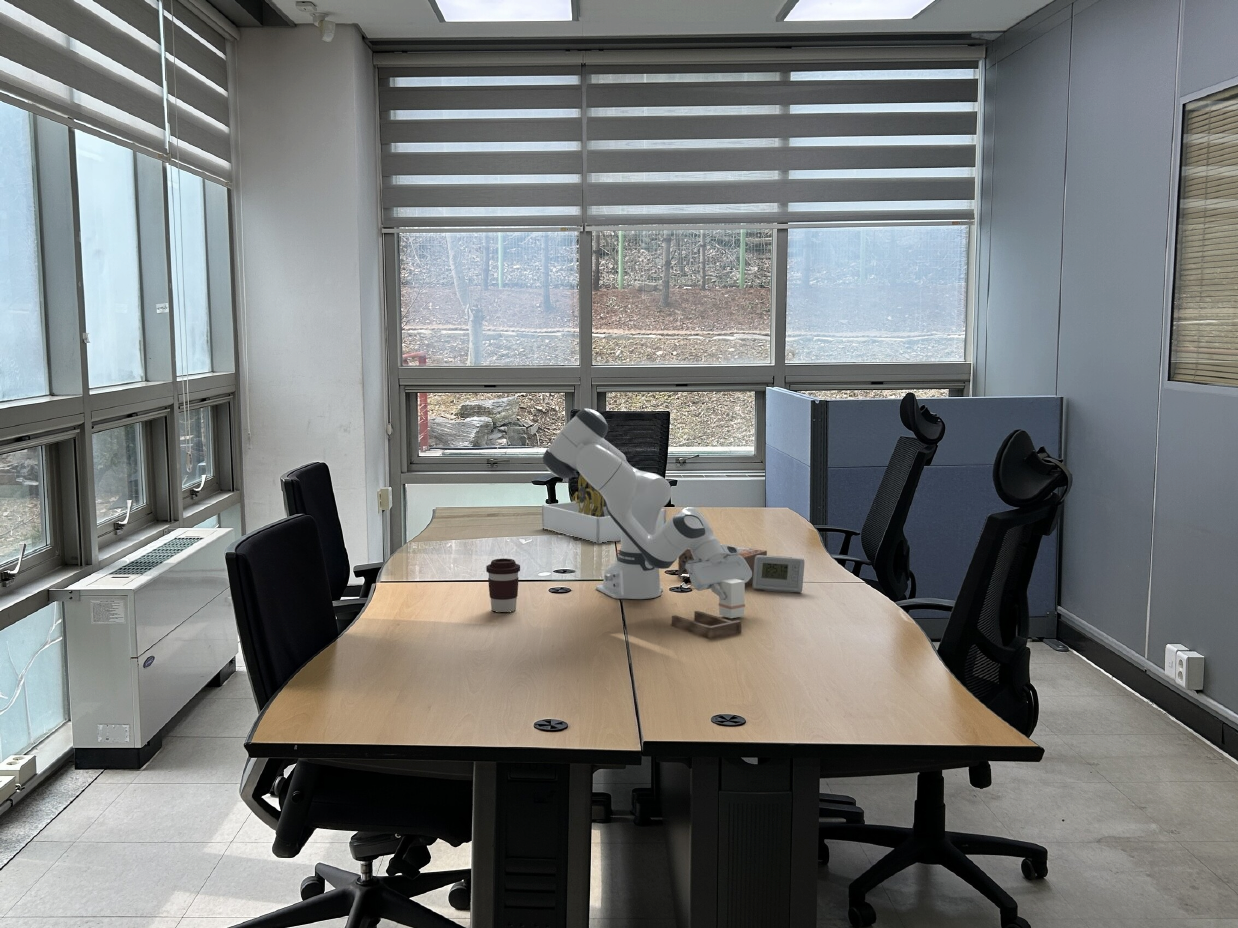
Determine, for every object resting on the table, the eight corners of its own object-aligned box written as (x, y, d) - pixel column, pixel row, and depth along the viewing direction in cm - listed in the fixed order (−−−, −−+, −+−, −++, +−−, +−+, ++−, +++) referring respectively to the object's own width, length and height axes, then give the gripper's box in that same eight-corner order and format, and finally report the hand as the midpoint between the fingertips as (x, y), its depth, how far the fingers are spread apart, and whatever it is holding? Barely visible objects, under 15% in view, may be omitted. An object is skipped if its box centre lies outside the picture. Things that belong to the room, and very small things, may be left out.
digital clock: (749, 589, 346) (750, 557, 345) (761, 584, 354) (761, 552, 353) (797, 596, 338) (798, 562, 337) (808, 590, 346) (808, 557, 344)
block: (716, 614, 307) (717, 579, 306) (730, 611, 310) (731, 577, 309) (730, 618, 303) (731, 583, 302) (744, 615, 306) (745, 581, 305)
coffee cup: (515, 615, 314) (514, 564, 312) (482, 613, 316) (481, 563, 314) (524, 607, 324) (524, 557, 322) (493, 605, 326) (492, 556, 324)
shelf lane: (669, 630, 298) (669, 614, 298) (699, 623, 305) (699, 608, 304) (710, 644, 285) (710, 627, 284) (741, 637, 291) (741, 621, 291)
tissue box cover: (766, 580, 360) (766, 550, 359) (742, 587, 349) (743, 557, 348) (703, 569, 377) (703, 541, 376) (678, 576, 366) (678, 547, 365)
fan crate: (542, 528, 454) (542, 505, 453) (608, 520, 474) (608, 497, 473) (597, 543, 422) (597, 518, 421) (665, 533, 442) (665, 509, 441)
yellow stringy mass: (570, 528, 455) (570, 457, 452) (643, 524, 464) (643, 454, 461) (587, 539, 430) (586, 464, 427) (663, 535, 440) (663, 461, 436)
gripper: (688, 555, 304) (710, 596, 297) (741, 546, 316) (764, 586, 309) (677, 568, 308) (699, 608, 301) (731, 559, 320) (753, 598, 313)
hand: (733, 597), depth 305 cm, fingers closed on block, 5 cm apart
